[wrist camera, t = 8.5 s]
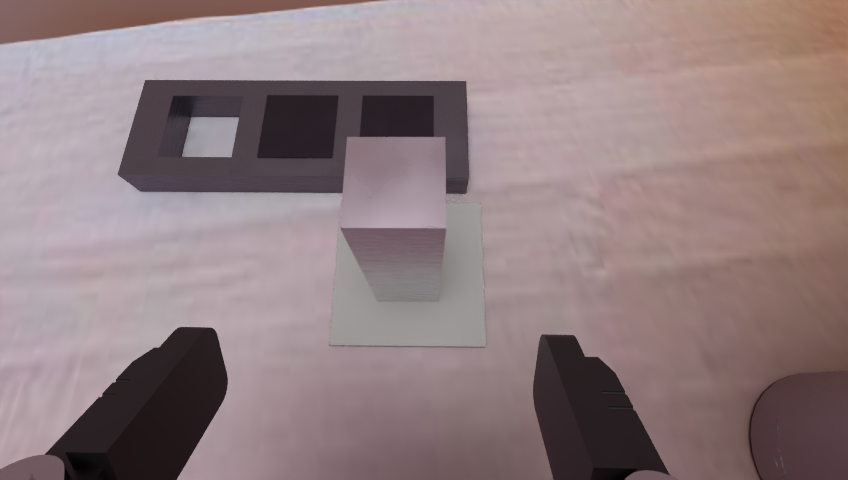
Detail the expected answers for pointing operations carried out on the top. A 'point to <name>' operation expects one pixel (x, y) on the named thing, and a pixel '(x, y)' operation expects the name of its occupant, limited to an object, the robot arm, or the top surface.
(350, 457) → the top surface
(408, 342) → the mat
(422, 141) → the steel plug
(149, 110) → the dark grey slotted tray
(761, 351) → the top surface
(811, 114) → the top surface
